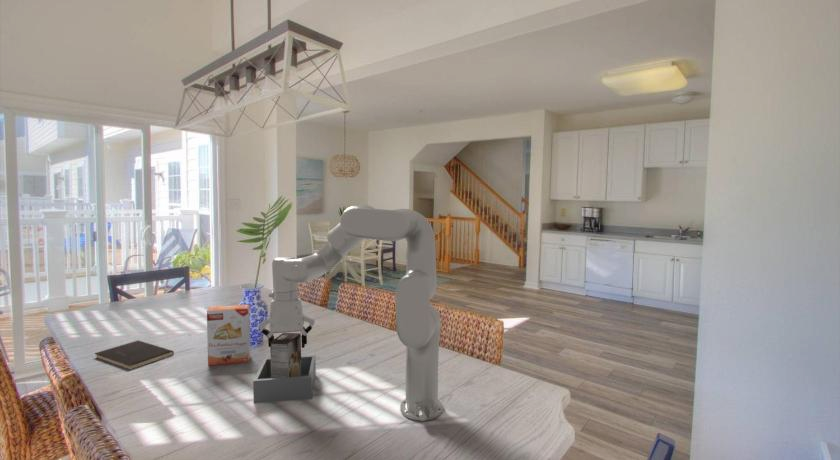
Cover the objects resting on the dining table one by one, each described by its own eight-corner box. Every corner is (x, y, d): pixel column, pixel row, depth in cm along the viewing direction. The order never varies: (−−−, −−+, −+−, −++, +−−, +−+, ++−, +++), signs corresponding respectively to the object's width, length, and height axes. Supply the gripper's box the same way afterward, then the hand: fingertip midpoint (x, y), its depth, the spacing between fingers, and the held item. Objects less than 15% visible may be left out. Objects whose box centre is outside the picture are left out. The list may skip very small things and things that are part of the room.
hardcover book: (129, 371, 143) (129, 365, 143) (95, 358, 154) (94, 353, 154) (174, 355, 158) (173, 350, 157) (139, 345, 168) (139, 339, 168)
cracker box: (207, 366, 147) (205, 310, 145) (211, 360, 153) (209, 306, 151) (249, 362, 151) (247, 308, 149) (251, 356, 157) (249, 303, 155)
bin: (311, 398, 125) (311, 377, 124) (253, 403, 122) (253, 380, 121) (315, 374, 142) (315, 355, 141) (264, 378, 138) (264, 358, 138)
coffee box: (283, 378, 137) (283, 331, 135) (302, 379, 136) (301, 332, 134) (270, 391, 127) (269, 341, 126) (289, 392, 127) (289, 342, 125)
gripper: (254, 300, 124) (257, 354, 125) (312, 296, 127) (314, 349, 128) (259, 294, 131) (262, 345, 132) (314, 291, 134) (316, 341, 136)
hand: (288, 347), depth 130 cm, fingers open, 9 cm apart
